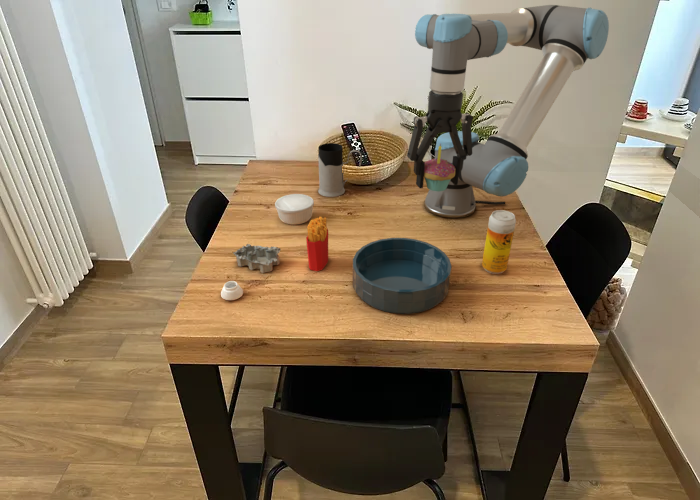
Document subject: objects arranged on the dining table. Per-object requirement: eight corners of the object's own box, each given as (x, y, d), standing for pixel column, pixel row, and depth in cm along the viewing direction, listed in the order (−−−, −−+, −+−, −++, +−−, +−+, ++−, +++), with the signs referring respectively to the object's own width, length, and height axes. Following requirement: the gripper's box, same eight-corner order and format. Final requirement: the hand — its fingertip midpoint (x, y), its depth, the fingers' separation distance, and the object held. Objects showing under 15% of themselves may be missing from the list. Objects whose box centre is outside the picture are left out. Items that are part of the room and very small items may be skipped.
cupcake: (452, 196, 119) (459, 148, 113) (417, 193, 120) (421, 145, 114) (454, 182, 126) (459, 136, 120) (420, 179, 128) (424, 133, 121)
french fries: (319, 274, 123) (318, 231, 116) (305, 271, 124) (302, 229, 117) (332, 256, 129) (330, 215, 123) (317, 253, 130) (316, 213, 124)
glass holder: (317, 185, 167) (316, 142, 159) (360, 184, 168) (360, 141, 160) (318, 197, 159) (316, 152, 151) (362, 195, 160) (363, 151, 152)
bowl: (427, 254, 130) (429, 232, 127) (464, 306, 111) (468, 282, 108) (343, 266, 125) (342, 244, 122) (367, 322, 107) (367, 298, 103)
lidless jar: (217, 293, 116) (226, 304, 112) (216, 283, 114) (225, 293, 111) (237, 286, 118) (247, 296, 115) (236, 275, 117) (245, 286, 113)
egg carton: (283, 261, 128) (282, 248, 125) (266, 276, 122) (264, 262, 120) (250, 250, 132) (249, 237, 130) (232, 264, 126) (230, 251, 124)
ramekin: (269, 222, 145) (267, 206, 142) (287, 206, 154) (286, 191, 151) (303, 229, 141) (302, 213, 139) (320, 212, 150) (319, 197, 147)
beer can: (492, 277, 121) (502, 223, 113) (476, 265, 126) (484, 212, 118) (511, 271, 123) (522, 217, 115) (494, 259, 128) (504, 207, 120)
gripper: (482, 84, 116) (469, 174, 128) (395, 89, 112) (391, 182, 124) (497, 92, 110) (483, 186, 122) (406, 97, 106) (400, 194, 118)
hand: (436, 184), depth 123 cm, fingers closed on cupcake, 8 cm apart
